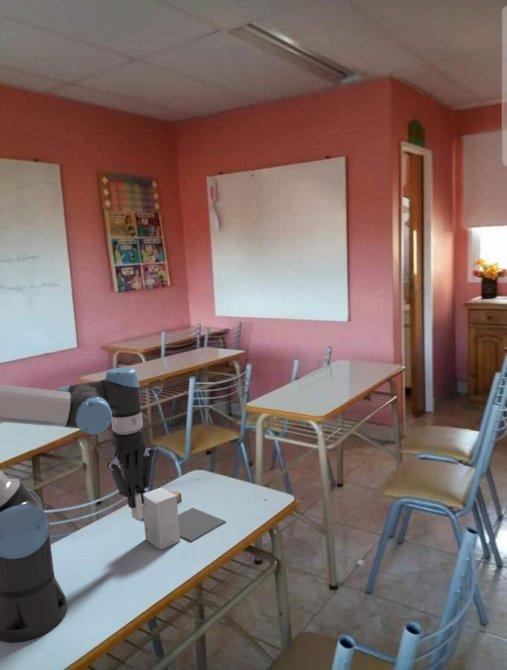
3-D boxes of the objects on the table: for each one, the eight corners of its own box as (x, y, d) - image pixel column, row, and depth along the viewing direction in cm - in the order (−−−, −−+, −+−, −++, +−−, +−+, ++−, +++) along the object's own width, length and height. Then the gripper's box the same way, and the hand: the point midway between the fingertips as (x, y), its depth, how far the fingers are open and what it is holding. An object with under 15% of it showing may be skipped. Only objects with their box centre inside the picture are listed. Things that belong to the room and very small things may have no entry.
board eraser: (155, 519, 161) (154, 509, 160) (142, 516, 163) (141, 506, 163) (181, 502, 171) (180, 492, 170) (169, 499, 173) (168, 489, 173)
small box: (180, 541, 147) (177, 495, 145) (160, 550, 143) (155, 503, 141) (165, 530, 153) (161, 486, 151) (145, 539, 149) (140, 494, 147)
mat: (191, 542, 147) (191, 540, 146) (158, 526, 156) (158, 525, 156) (225, 522, 156) (225, 521, 156) (192, 508, 165) (192, 507, 165)
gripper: (114, 440, 130) (125, 532, 134) (158, 424, 140) (167, 511, 144) (96, 434, 135) (107, 523, 139) (140, 419, 145) (149, 503, 149)
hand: (137, 517), depth 141 cm, fingers closed
